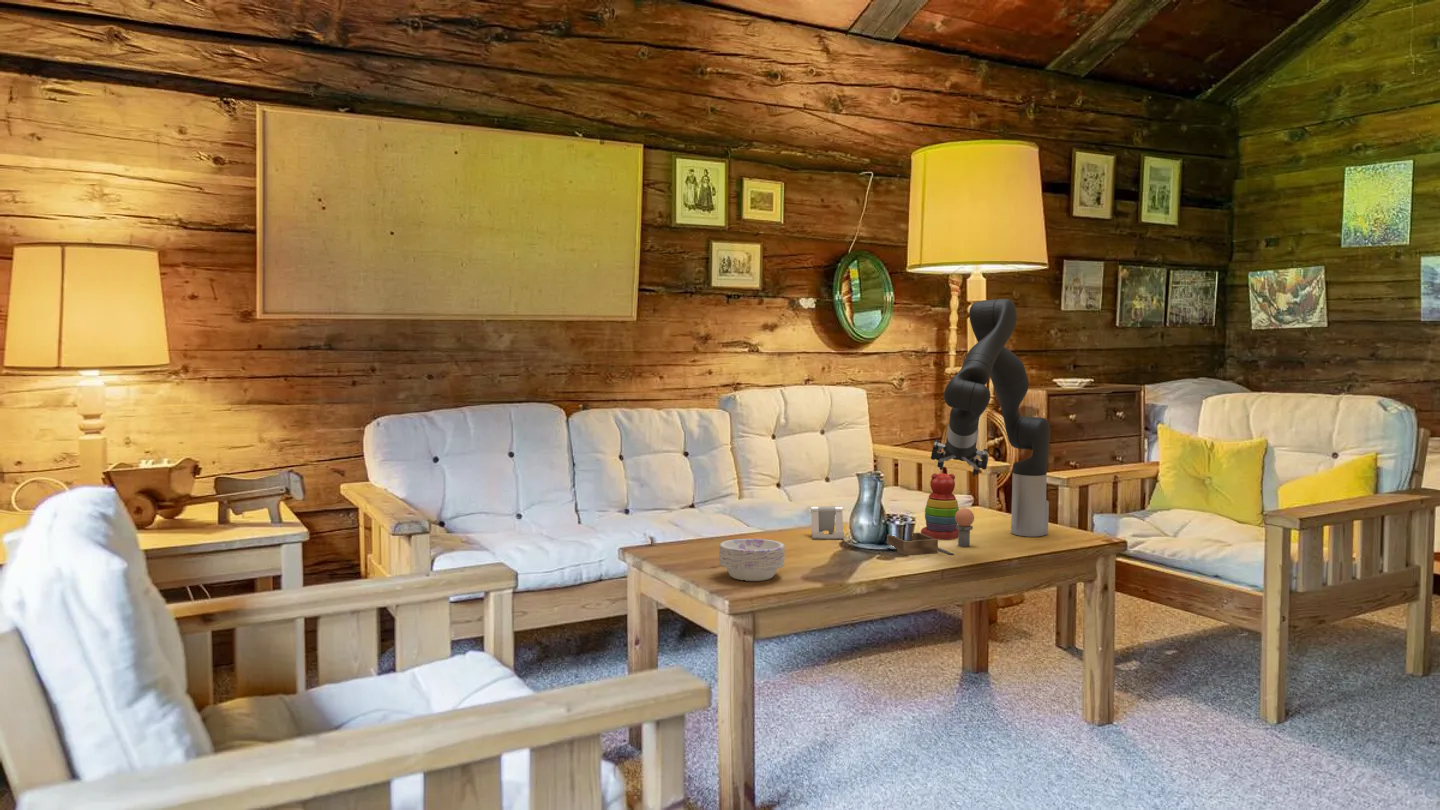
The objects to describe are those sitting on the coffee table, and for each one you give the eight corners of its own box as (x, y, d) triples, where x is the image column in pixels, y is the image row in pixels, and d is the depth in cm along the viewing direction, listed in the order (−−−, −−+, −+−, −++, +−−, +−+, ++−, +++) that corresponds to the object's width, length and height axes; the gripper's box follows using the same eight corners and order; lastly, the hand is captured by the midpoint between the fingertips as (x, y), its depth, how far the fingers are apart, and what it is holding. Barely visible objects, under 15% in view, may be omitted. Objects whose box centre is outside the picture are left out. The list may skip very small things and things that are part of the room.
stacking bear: (958, 533, 289) (959, 471, 287) (963, 540, 279) (964, 476, 277) (920, 532, 290) (921, 470, 288) (923, 539, 280) (924, 475, 278)
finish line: (921, 542, 276) (921, 541, 276) (953, 554, 261) (953, 553, 261) (917, 542, 275) (917, 541, 275) (949, 555, 260) (949, 553, 260)
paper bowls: (763, 566, 247) (763, 534, 247) (796, 580, 234) (797, 546, 233) (707, 573, 240) (707, 540, 239) (739, 588, 227) (739, 553, 226)
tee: (966, 543, 274) (966, 524, 274) (973, 546, 270) (974, 526, 270) (953, 544, 273) (954, 524, 272) (961, 547, 269) (962, 527, 269)
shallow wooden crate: (918, 545, 272) (918, 532, 272) (937, 552, 263) (937, 539, 263) (886, 547, 269) (886, 534, 269) (904, 555, 260) (905, 541, 260)
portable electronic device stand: (812, 540, 279) (812, 509, 278) (810, 534, 287) (810, 504, 286) (843, 540, 279) (844, 510, 278) (840, 534, 286) (841, 505, 286)
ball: (967, 524, 274) (967, 506, 274) (977, 528, 270) (978, 509, 269) (951, 525, 273) (951, 507, 272) (961, 529, 268) (961, 510, 268)
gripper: (993, 428, 254) (987, 463, 267) (936, 418, 258) (933, 453, 271) (988, 452, 250) (982, 487, 263) (930, 441, 254) (928, 476, 267)
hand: (957, 470), depth 267 cm, fingers open, 8 cm apart
